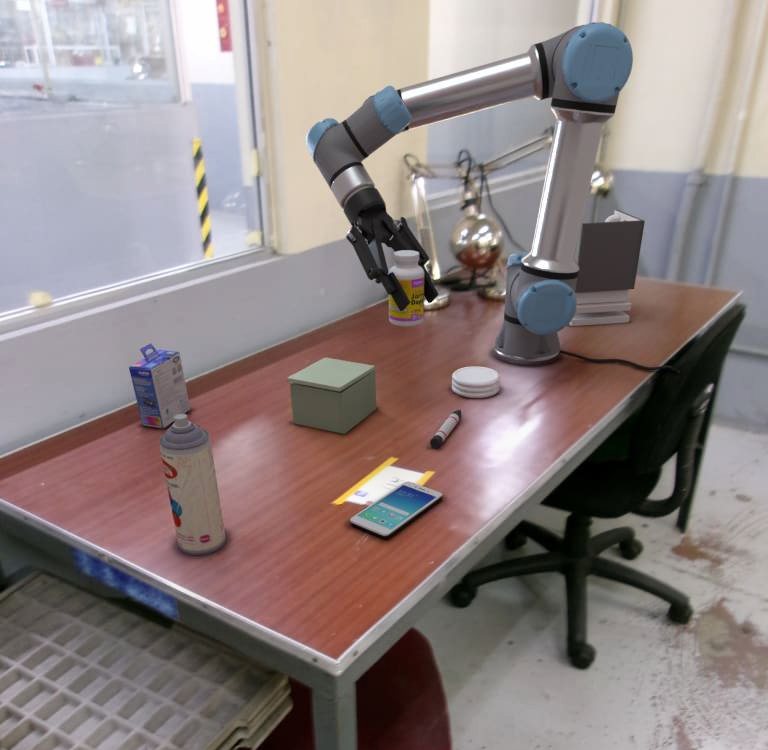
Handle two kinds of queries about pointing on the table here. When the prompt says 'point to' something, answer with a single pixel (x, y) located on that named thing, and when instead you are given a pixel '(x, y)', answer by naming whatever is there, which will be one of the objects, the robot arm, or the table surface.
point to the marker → (445, 429)
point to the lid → (331, 374)
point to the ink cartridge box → (159, 387)
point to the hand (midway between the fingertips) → (419, 302)
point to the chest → (334, 405)
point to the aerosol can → (192, 487)
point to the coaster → (475, 382)
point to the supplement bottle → (408, 289)
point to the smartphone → (396, 509)
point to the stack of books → (607, 269)
